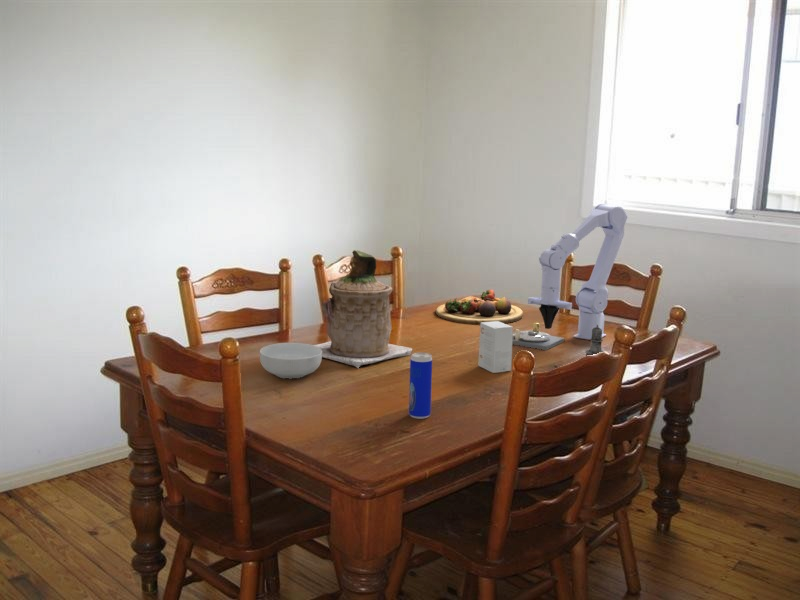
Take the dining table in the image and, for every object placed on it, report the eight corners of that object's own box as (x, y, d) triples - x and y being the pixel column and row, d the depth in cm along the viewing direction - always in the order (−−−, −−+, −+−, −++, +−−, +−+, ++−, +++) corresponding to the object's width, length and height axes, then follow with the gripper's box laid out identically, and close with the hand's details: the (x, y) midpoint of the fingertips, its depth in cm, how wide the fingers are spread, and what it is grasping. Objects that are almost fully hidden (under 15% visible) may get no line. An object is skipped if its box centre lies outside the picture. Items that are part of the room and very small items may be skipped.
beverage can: (407, 412, 205) (409, 352, 201) (429, 412, 205) (431, 352, 202) (409, 419, 200) (411, 357, 196) (431, 419, 200) (433, 358, 197)
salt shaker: (605, 367, 247) (608, 327, 244) (584, 366, 248) (587, 326, 246) (604, 362, 252) (607, 323, 250) (584, 360, 254) (587, 321, 251)
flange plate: (507, 332, 280) (508, 321, 279) (547, 334, 279) (548, 322, 278) (510, 341, 269) (511, 328, 268) (551, 342, 268) (552, 330, 268)
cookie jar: (415, 354, 256) (418, 249, 250) (357, 370, 238) (358, 257, 232) (358, 339, 273) (360, 240, 266) (300, 352, 255) (300, 247, 248)
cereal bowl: (271, 387, 221) (271, 361, 220) (251, 370, 236) (251, 345, 234) (331, 379, 229) (331, 354, 228) (308, 363, 243) (308, 339, 242)
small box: (511, 371, 241) (513, 326, 238) (492, 373, 238) (494, 328, 236) (496, 363, 248) (498, 320, 245) (477, 366, 245) (479, 322, 243)
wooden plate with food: (465, 302, 334) (465, 282, 332) (538, 314, 315) (539, 292, 314) (418, 318, 309) (418, 295, 307) (494, 331, 290) (495, 307, 288)
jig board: (519, 333, 284) (520, 319, 283) (564, 341, 275) (565, 327, 274) (500, 342, 273) (500, 327, 272) (545, 350, 264) (546, 335, 263)
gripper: (524, 286, 272) (522, 327, 275) (566, 291, 265) (564, 333, 267) (534, 282, 278) (532, 323, 281) (575, 288, 270) (573, 329, 273)
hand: (548, 328), depth 275 cm, fingers closed
